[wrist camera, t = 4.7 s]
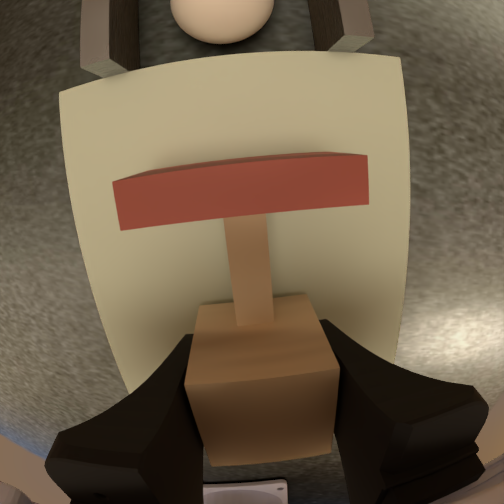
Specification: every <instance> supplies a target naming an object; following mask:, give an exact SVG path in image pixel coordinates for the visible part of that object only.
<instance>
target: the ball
mask: <svg viewBox="0 0 504 504" xmlns="http://www.w3.org/2000/svg"><path fill="white" fill-rule="evenodd" d="M170 5H171V11H172V14H173V17H174V19H175V21H176V22H177V24H178V25H179V26H180V28H181V29H182V30H183V31H185V32H186V33H187V34H189V35H190V36H192V37H193V38H195V39H198V40H200V41H203V42H207V43H213V44H228V43H234V42H238V41H241V40H243V39H246V38H248V37H250V36H251V35H253V34H254V33H256V32H257V31H258V30H260V29H261V28H262V27H263V25H264V24H265V23H266V22H267V20H268V19H269V17H270V15H271V13H272V10H273V6H274V0H170Z"/></svg>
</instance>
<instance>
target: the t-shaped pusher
mask: <svg viewBox="0 0 504 504" xmlns="http://www.w3.org/2000/svg"><path fill="white" fill-rule="evenodd" d="M112 185H113V191H114V198H115V204H116V209H117V215H118V220H119V226H120V231H124V230H131V229H138V228H146V227H153V226H161V225H169V224H177V223H185V222H193V221H202V220H210V219H219V218H223V221H224V229H225V237H226V245H227V253H228V261H229V269H230V276H231V284H232V291H233V299H234V302H231V303H221V304H211V305H200V306H199V309H198V314H197V319H196V324H195V330H194V335H193V340H192V345H191V350H190V356H189V361H188V366H187V372H186V377H185V383H184V386H185V389H186V393H187V396H188V399H189V402H190V405H191V409H192V412H193V415H194V418H195V421H196V424H197V427H198V430H199V433H200V436H201V438H202V441H203V444H204V447H205V450H206V452H207V455H208V458H209V461H210V463H211V466H233V465H248V464H259V463H269V462H278V461H286V460H293V459H299V458H306V457H312V456H318V455H323V454H328V453H331V447H332V440H333V432H334V424H335V415H336V406H337V396H338V385H339V374H340V367H339V364H338V362H337V360H336V357H335V355H334V353H333V351H332V349H331V346H330V344H329V342H328V340H327V337H326V335H325V333H324V331H323V329H322V326H321V324H320V322H319V320H318V318H317V315H316V313H315V311H314V309H313V307H312V304H311V302H310V300H309V298H308V296H307V294H302V295H294V296H286V297H277V298H273V296H272V283H271V271H270V258H269V246H268V234H267V223H266V213H276V212H287V211H297V210H308V209H320V208H332V207H344V206H357V205H369V178H368V156H367V155H362V154H351V153H340V152H308V153H292V154H278V155H266V156H255V157H244V158H235V159H226V160H217V161H209V162H201V163H193V164H186V165H179V166H172V167H166V168H160V169H153V170H148V171H145V172H141V173H138V174H135V175H132V176H128V177H125V178H122V179H119V180H116V181H113V182H112Z"/></svg>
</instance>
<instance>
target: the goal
mask: <svg viewBox="0 0 504 504" xmlns="http://www.w3.org/2000/svg"><path fill="white" fill-rule="evenodd" d="M308 5H309V11H310V17H311V23H312V30H313V37H314V43H315V50H316V51H329V52H349V53H353V52H355V51H356V50H358V49H359V48H360V47H362V46H363V45H365V44H366V43H367V42H369V41H370V40H372V39H373V38H375V37H374V32H373V26H372V21H371V16H370V11H369V7H368V2H367V0H308ZM80 67H81V68H83V69H85V70H87V71H90V72H92V73H94V74H96V75H98V76H100V77H103V78H107V77H110V76H114V75H118V74H122V73H126V72H130V71H134V70H139V69H140V55H139V29H138V0H82V9H81V35H80Z"/></svg>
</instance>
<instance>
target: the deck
mask: <svg viewBox="0 0 504 504" xmlns="http://www.w3.org/2000/svg"><path fill="white" fill-rule="evenodd" d="M59 104H60V119H61V131H62V141H63V150H64V159H65V166H66V173H67V180H68V186H69V192H70V198H71V204H72V209H73V214H74V219H75V224H76V229H77V234H78V238H79V242H80V247H81V251H82V255H83V259H84V263H85V267H86V271H87V274H88V278H89V282H90V285H91V289H92V292H93V296H94V299H95V302H96V305H97V309H98V312H99V315H100V318H101V321H102V324H103V327H104V330H105V333H106V336H107V339H108V341H109V344H110V347H111V350H112V352H113V355H114V358H115V360H116V363H117V365H118V368H119V370H120V373H121V375H122V378H123V380H124V383H125V385H126V387H127V390H128V392H129V394H131V393H132V392H133V391H134V390H136V389H137V388H138V387H139V386H140V385H141V384H142V383H144V382H145V381H146V380H147V379H148V378H149V377H150V376H151V375H152V373H153V372H154V371H155V370H156V369H157V368H158V367H159V366H160V365H161V364H162V362H163V361H164V360H165V359H166V358H167V357H168V355H169V354H170V353H171V352H172V350H173V349H174V348H175V347H176V345H177V344H178V343H179V341H180V340H181V339H182V338H183V337H184V335H185V334H194V330H195V324H196V319H197V314H198V309H199V306H200V305H211V304H221V303H231V302H234V299H233V291H232V284H231V276H230V269H229V261H228V253H227V245H226V237H225V229H224V221H223V218H219V219H210V220H202V221H193V222H185V223H177V224H169V225H161V226H153V227H146V228H138V229H131V230H124V231H120V226H119V220H118V215H117V209H116V204H115V198H114V191H113V185H112V182H113V181H116V180H119V179H122V178H125V177H128V176H132V175H135V174H138V173H141V172H145V171H148V170H153V169H160V168H166V167H172V166H179V165H186V164H193V163H201V162H209V161H217V160H226V159H235V158H244V157H255V156H266V155H278V154H292V153H308V152H340V153H351V154H362V155H367V156H368V178H369V205H357V206H344V207H332V208H320V209H308V210H297V211H287V212H276V213H266V223H267V234H268V246H269V258H270V271H271V283H272V296H273V298H277V297H286V296H294V295H302V294H307V296H308V298H309V300H310V302H311V304H312V307H313V309H314V311H315V313H316V315H317V318H318V320H321V319H327V320H329V321H330V322H331V323H332V324H334V325H335V326H336V327H337V328H339V329H340V330H341V331H342V332H344V333H345V334H346V335H347V336H349V337H350V338H351V339H353V340H354V341H356V342H357V343H358V344H360V345H361V346H363V347H364V348H366V349H367V350H369V351H371V352H372V353H374V354H375V355H377V356H379V357H381V358H382V359H384V360H386V361H388V362H390V363H392V364H394V360H395V354H396V349H397V343H398V337H399V330H400V324H401V317H402V309H403V301H404V293H405V283H406V273H407V260H408V246H409V225H410V156H409V136H408V122H407V110H406V100H405V91H404V83H403V75H402V68H401V61H400V58H399V57H392V56H383V55H374V54H363V53H349V52H329V51H277V52H257V53H243V54H232V55H222V56H213V57H205V58H198V59H191V60H185V61H179V62H173V63H168V64H162V65H157V66H152V67H148V68H143V69H139V70H134V71H130V72H126V73H122V74H118V75H114V76H110V77H107V78H103V79H100V80H96V81H93V82H90V83H86V84H83V85H80V86H77V87H74V88H71V89H68V90H65V91H62V92H59Z"/></svg>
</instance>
